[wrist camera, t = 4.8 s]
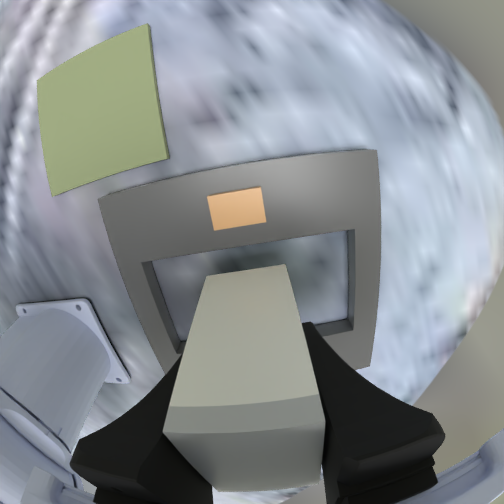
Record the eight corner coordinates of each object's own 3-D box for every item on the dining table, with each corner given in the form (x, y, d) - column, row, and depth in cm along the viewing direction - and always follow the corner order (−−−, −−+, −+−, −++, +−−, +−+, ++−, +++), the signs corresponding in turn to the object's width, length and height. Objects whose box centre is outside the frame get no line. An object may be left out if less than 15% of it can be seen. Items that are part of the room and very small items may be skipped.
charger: (229, 355, 14) (218, 491, 7) (206, 275, 12) (162, 431, 5) (294, 346, 14) (319, 483, 7) (285, 264, 12) (325, 421, 5)
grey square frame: (177, 379, 18) (173, 395, 17) (108, 194, 13) (93, 200, 12) (364, 355, 18) (371, 370, 16) (367, 149, 12) (380, 150, 11)
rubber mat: (55, 195, 13) (52, 196, 13) (40, 80, 10) (36, 80, 10) (169, 158, 13) (167, 158, 12) (150, 25, 10) (147, 23, 9)
